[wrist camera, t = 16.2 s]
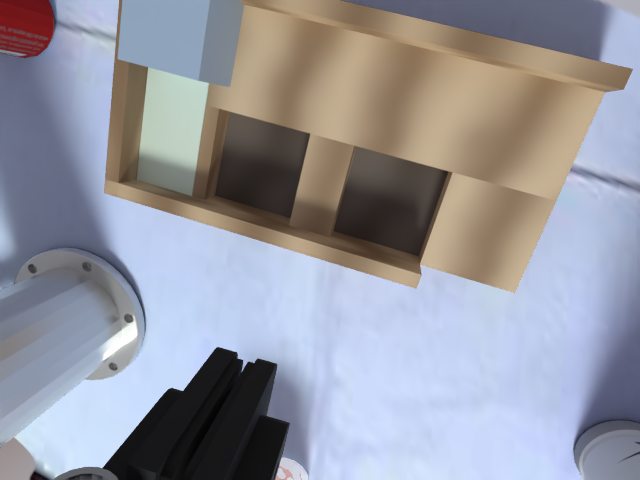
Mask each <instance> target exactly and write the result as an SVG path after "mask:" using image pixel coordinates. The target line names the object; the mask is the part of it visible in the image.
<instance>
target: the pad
mask: <svg viewBox="0 0 640 480" xmlns="http://www.w3.org/2000/svg"><path fill="white" fill-rule="evenodd" d="M208 85H209V83H206V82H202V81H197V80H194V79H190V78H186V77H183V76H179V75H175V74H171V73H168V72H164V71H160V70H156V69H153V68H149V67H148V74H147V83H146V93H145V102H144V112H143V122H142V131H141V141H140V150H139V160H138V170H137V179H136V180H140V181H143V182H146V183H150V184H153V185H156V186H160V187H163V188H166V189H170V190H173V191H176V192H180V193H183V194H186V195H190V196H192V195H193V194H192V191H193V188H194V187H193V185H194V181H195V180H194V178H195V176H196V175H195V174H196V173H195V172H196V169H197V168H196V167H197V166H196V165H197V162H198V161H197V158H198V153H199V149H200V148H199V146H200V141H201V139H200V138H201V135H202V128H203V127H202V126H203V122H204V121H203V120H204V116H205V115H204V112H205V110H206V108H205V107H206V102H207V94H208V89H209V87H208Z"/></svg>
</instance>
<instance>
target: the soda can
mask: <svg viewBox="0 0 640 480" xmlns="http://www.w3.org/2000/svg"><path fill="white" fill-rule="evenodd" d="M54 21H55V20H54V15H53V10H52V7H51V5H50V2H49V0H0V54H5V55H11V56H16V57H22V58H27V57H33V56H38V55H39V54H40V53H41V52H42V51H44V50H45V49H46V48H47V47H48V45H49V43H50V41H51V39H52V37H53V33H54Z"/></svg>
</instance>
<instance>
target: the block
mask: <svg viewBox="0 0 640 480" xmlns="http://www.w3.org/2000/svg"><path fill="white" fill-rule="evenodd" d="M243 9H244V4H243V3H241V2H240V1H239V0H122V11H121V23H120V35H119V47H118V59H119V60H123V61H127V62H130V63H134V64H138V65H142V66H145V67H149V68H153V69H156V70H160V71H164V72H168V73H171V74H175V75H179V76H183V77H186V78H190V79H194V80H197V81H202V82H206V83H211V84H216V85H220V86H225V87H229V88H230V86H231V80H232V74H233V68H234V62H235V56H236V50H237V44H238V38H239V32H240V26H241V21H242V15H243Z"/></svg>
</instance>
